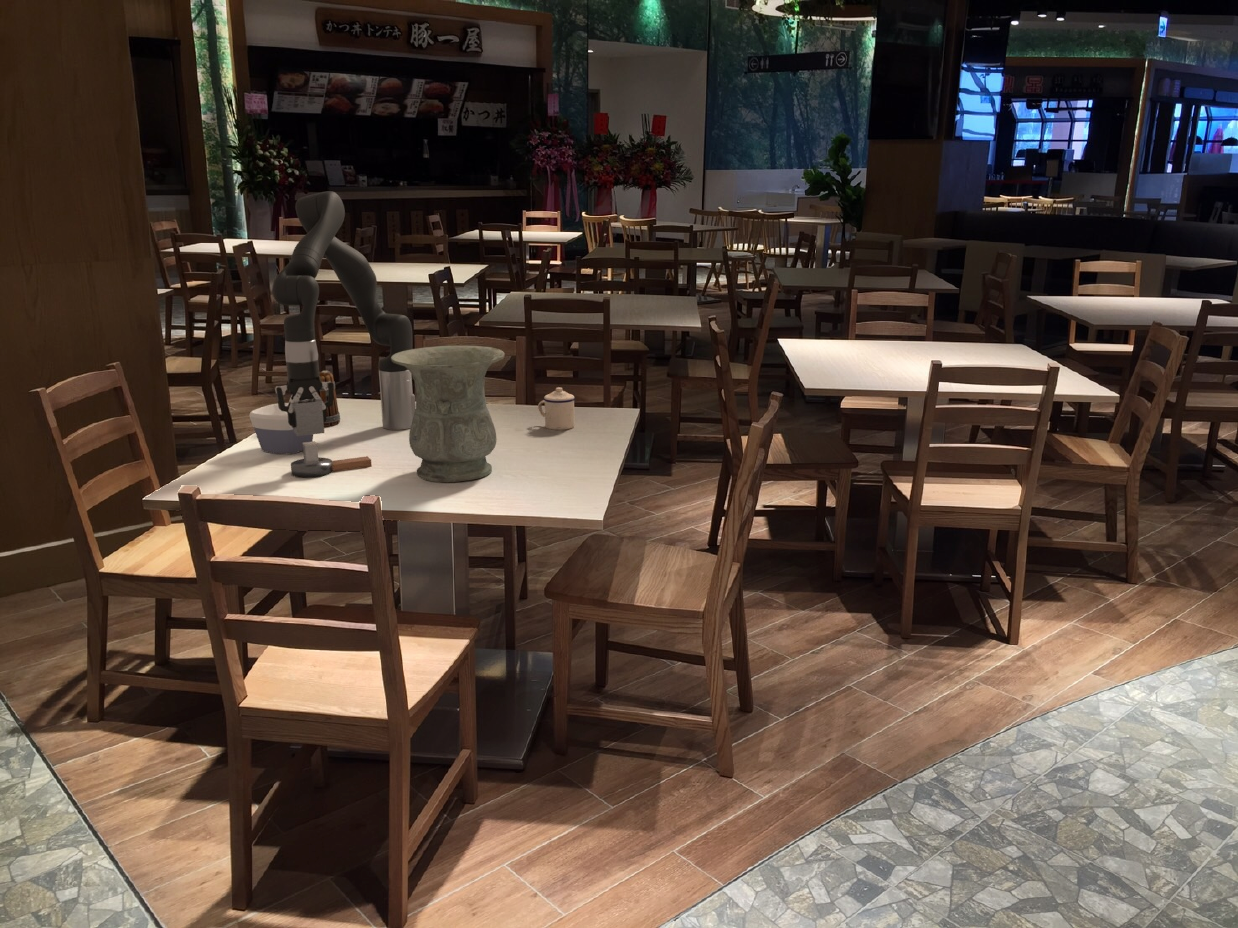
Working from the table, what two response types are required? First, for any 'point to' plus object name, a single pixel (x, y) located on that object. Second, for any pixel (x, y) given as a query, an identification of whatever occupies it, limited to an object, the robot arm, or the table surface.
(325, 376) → the mug
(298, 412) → the grey rectangular block
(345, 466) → the dark handled piece
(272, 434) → the bowl
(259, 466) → the table surface
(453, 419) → the vessel
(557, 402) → the teacup with lid
